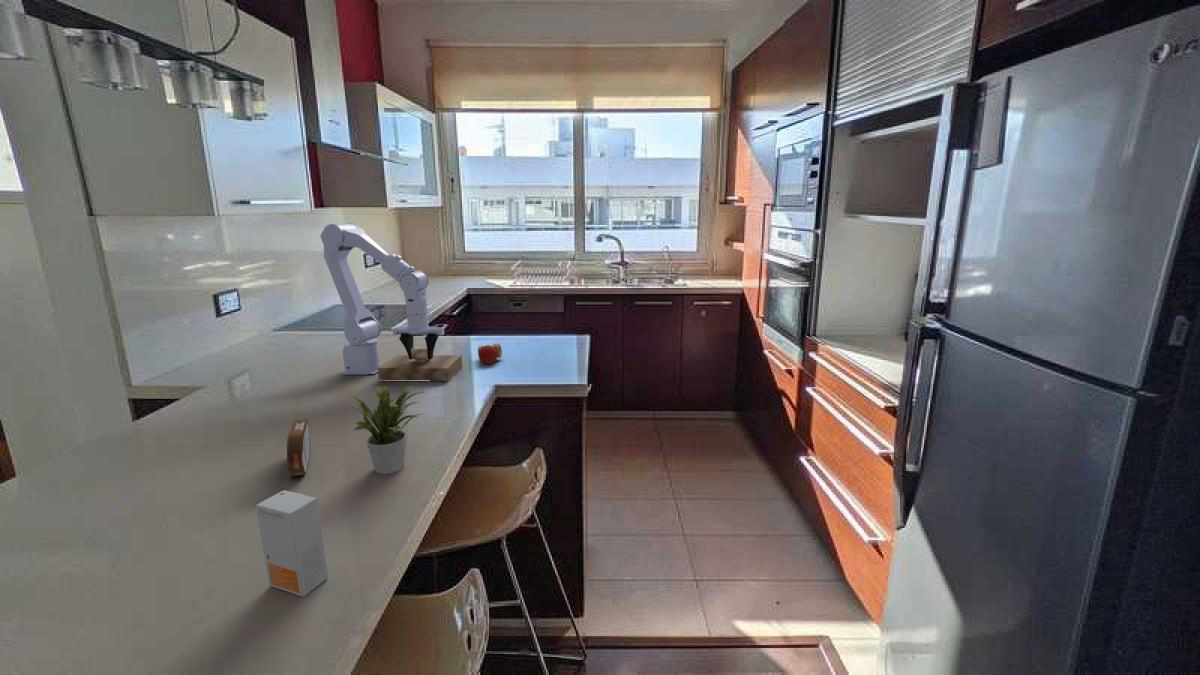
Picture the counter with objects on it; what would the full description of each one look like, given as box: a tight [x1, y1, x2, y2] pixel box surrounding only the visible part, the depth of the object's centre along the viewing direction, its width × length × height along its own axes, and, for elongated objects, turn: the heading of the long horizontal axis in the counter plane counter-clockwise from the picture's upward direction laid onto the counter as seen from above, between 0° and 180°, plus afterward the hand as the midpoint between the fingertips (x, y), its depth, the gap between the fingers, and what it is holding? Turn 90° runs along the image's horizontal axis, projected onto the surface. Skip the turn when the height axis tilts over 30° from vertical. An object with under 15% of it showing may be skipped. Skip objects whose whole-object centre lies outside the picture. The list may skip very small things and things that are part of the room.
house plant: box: [346, 383, 425, 475], centre depth 101 cm, size 14×14×16 cm
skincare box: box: [255, 489, 329, 598], centre depth 70 cm, size 6×4×12 cm
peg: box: [411, 345, 428, 363], centre depth 161 cm, size 5×5×6 cm
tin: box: [286, 418, 311, 478], centre depth 104 cm, size 15×3×8 cm, turn 23°
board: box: [377, 354, 463, 382], centre depth 161 cm, size 20×14×4 cm
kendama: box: [477, 342, 503, 365], centre depth 178 cm, size 8×6×18 cm
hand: (421, 358), depth 161 cm, fingers closed on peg, 5 cm apart
